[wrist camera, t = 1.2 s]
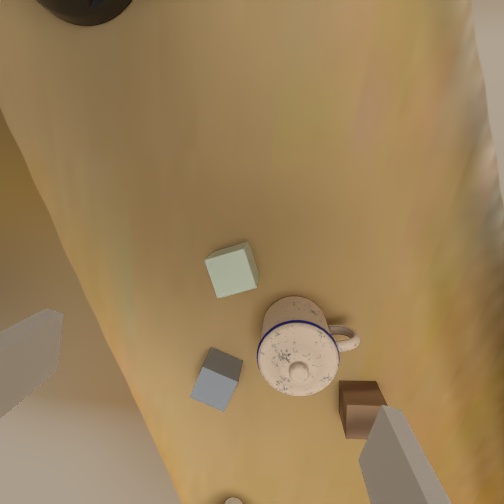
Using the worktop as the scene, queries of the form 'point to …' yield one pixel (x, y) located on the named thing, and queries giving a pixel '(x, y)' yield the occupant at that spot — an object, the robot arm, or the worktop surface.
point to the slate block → (217, 379)
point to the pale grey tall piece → (233, 501)
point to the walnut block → (359, 407)
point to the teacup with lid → (300, 347)
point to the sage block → (232, 270)
